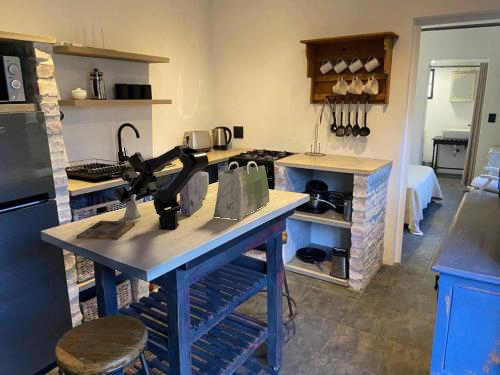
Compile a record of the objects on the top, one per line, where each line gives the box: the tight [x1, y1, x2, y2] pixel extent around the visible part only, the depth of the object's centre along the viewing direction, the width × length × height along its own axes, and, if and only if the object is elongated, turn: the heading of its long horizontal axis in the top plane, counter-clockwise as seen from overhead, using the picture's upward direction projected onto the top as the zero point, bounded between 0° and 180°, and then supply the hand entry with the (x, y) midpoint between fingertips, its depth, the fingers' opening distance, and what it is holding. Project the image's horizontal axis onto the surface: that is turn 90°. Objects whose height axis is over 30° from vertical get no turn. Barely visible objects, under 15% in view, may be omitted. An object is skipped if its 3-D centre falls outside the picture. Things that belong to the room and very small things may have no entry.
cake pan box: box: [178, 170, 204, 217], centre depth 171 cm, size 19×5×18 cm, turn 168°
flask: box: [123, 195, 142, 220], centre depth 163 cm, size 7×7×10 cm
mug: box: [201, 171, 210, 199], centre depth 195 cm, size 15×11×13 cm
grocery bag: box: [212, 160, 270, 221], centre depth 171 cm, size 32×14×23 cm, turn 153°
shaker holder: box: [76, 220, 136, 240], centre depth 146 cm, size 16×16×2 cm
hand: (129, 201), depth 164 cm, fingers open, 6 cm apart
